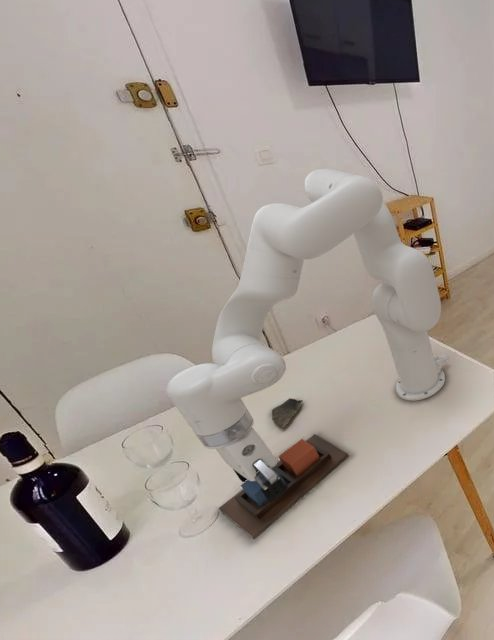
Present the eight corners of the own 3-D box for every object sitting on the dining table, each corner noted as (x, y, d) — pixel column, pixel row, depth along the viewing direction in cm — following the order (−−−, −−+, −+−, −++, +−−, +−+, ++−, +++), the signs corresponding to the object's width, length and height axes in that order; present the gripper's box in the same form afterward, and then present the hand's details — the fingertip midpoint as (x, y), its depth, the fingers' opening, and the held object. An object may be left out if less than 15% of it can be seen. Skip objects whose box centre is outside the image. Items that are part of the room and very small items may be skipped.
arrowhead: (280, 433, 97) (277, 429, 97) (268, 412, 103) (266, 408, 103) (312, 416, 102) (310, 412, 101) (299, 397, 108) (297, 393, 107)
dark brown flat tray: (316, 436, 96) (312, 429, 95) (349, 456, 91) (345, 448, 90) (220, 511, 81) (214, 503, 80) (254, 539, 76) (248, 531, 75)
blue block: (275, 478, 86) (267, 464, 84) (288, 487, 84) (280, 474, 82) (250, 499, 82) (240, 485, 80) (262, 509, 80) (253, 495, 78)
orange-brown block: (309, 452, 91) (301, 438, 89) (321, 460, 89) (314, 446, 87) (286, 469, 88) (278, 456, 85) (298, 479, 86) (290, 465, 83)
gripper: (274, 428, 73) (308, 487, 81) (223, 396, 80) (259, 454, 88) (227, 461, 67) (269, 521, 75) (177, 424, 74) (220, 483, 82)
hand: (263, 485), depth 82 cm, fingers open, 9 cm apart
